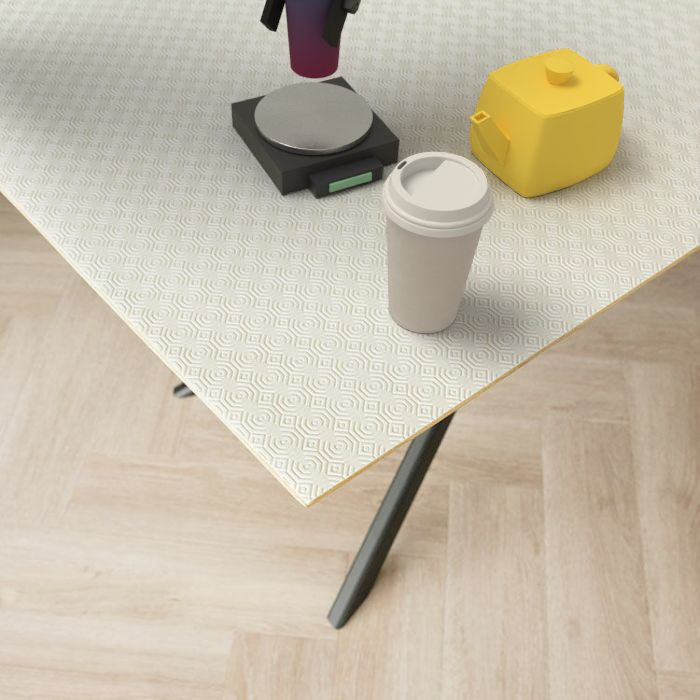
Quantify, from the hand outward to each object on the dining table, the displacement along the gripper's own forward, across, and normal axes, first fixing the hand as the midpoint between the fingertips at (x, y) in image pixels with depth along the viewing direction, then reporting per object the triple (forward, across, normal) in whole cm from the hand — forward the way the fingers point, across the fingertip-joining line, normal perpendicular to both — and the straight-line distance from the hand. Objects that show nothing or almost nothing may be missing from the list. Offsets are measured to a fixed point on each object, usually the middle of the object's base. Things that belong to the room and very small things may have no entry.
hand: (298, 34), depth 89 cm
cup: (+1, 0, -6) cm, 7 cm away
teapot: (+3, -23, -19) cm, 30 cm away
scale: (+9, -1, -13) cm, 15 cm away
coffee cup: (+22, -20, 0) cm, 30 cm away
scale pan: (+6, 0, -11) cm, 13 cm away
